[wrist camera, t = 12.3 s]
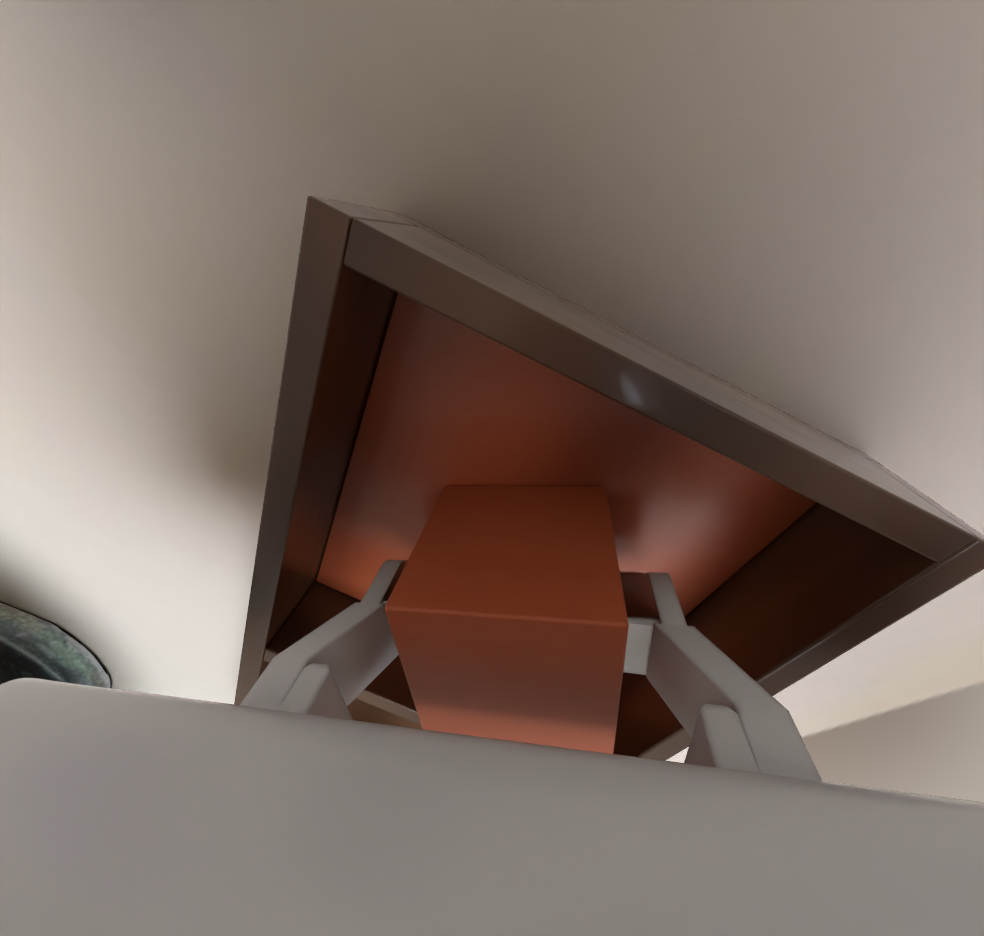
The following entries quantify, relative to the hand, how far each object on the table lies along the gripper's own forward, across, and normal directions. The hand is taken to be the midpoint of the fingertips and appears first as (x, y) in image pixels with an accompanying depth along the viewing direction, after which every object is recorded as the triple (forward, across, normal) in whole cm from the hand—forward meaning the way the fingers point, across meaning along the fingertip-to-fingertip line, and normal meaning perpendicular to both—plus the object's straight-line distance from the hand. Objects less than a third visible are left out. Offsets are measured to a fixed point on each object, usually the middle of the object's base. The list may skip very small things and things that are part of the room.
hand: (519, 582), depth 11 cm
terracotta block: (+2, 0, 0) cm, 2 cm away
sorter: (+2, +3, +5) cm, 6 cm away
